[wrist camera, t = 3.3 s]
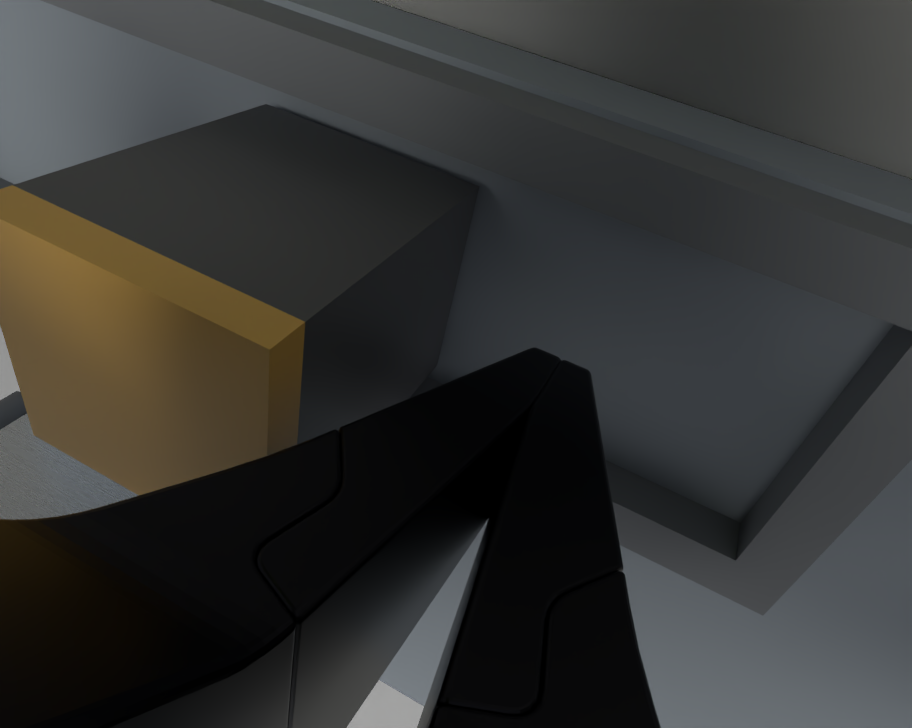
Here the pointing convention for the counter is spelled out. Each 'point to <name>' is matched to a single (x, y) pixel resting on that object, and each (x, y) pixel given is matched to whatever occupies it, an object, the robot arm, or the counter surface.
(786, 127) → the counter surface
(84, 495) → the rack door
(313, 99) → the console
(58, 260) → the fader knob
